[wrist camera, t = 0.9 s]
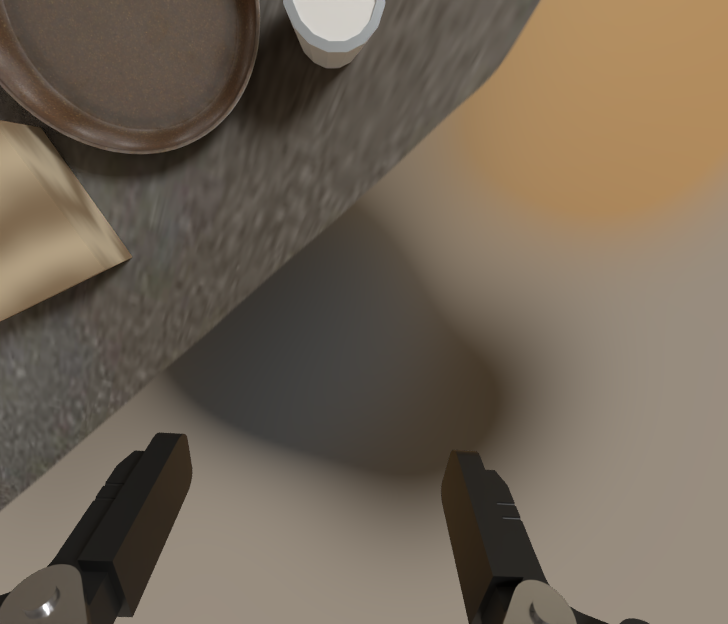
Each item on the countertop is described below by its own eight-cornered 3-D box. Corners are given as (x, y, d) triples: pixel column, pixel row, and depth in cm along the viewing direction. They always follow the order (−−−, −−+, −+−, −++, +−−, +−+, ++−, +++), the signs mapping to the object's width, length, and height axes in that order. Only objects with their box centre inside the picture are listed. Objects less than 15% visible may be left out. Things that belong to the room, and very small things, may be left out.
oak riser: (-85, 191, 32) (-154, 194, 27) (40, 127, 31) (-8, 119, 27) (21, 312, 36) (-23, 332, 31) (132, 257, 35) (105, 269, 31)
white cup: (386, 15, 31) (405, -27, 25) (345, 94, 33) (352, 74, 27) (314, -44, 30) (313, -106, 23) (273, 43, 31) (262, 8, 25)
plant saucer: (149, -238, 25) (126, -296, 22) (312, 78, 33) (312, 68, 30) (-96, -67, 27) (-149, -98, 24) (114, 200, 34) (94, 203, 31)
